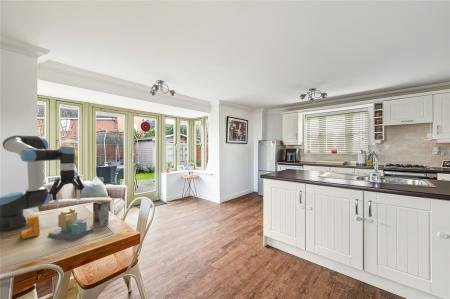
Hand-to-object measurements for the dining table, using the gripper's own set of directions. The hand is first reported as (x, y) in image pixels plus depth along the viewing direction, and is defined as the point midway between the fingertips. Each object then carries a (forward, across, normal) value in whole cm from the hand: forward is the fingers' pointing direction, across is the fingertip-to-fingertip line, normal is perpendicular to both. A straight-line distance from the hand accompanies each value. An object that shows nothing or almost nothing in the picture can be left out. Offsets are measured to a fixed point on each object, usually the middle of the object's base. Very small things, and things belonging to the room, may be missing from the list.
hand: (67, 202), depth 129 cm
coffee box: (+21, +18, -7) cm, 28 cm away
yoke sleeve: (+16, 0, 0) cm, 16 cm away
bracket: (+21, -10, +19) cm, 30 cm away
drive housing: (+20, 0, -3) cm, 21 cm away
